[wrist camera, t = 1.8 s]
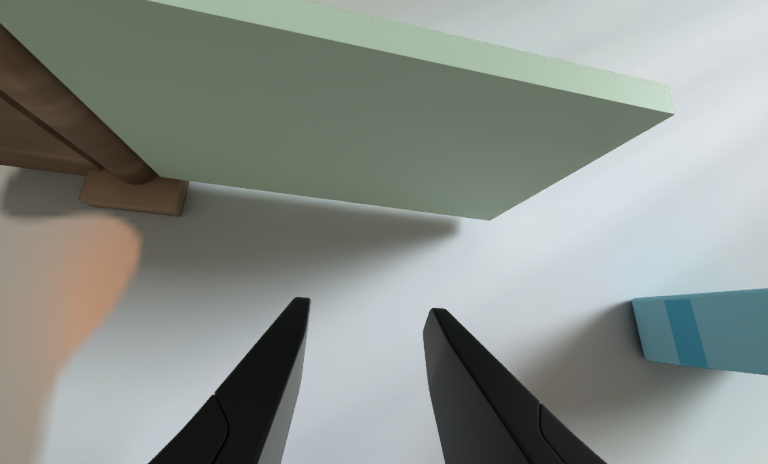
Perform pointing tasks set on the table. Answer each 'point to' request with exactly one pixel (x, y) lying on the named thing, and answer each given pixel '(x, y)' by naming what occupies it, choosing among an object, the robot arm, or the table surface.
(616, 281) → the table surface
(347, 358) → the table surface
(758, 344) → the data package
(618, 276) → the table surface
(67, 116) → the brown piece
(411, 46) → the sage green panel
